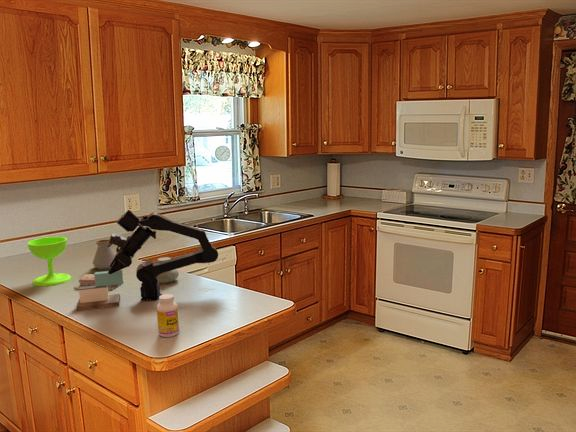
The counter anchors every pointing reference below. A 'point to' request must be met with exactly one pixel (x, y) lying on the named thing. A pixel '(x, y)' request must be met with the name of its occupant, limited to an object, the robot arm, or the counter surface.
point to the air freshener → (167, 273)
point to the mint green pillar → (108, 278)
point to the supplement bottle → (167, 316)
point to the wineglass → (49, 258)
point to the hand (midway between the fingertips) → (109, 270)
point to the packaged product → (91, 282)
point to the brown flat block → (100, 303)
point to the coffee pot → (103, 255)
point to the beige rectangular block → (93, 293)
